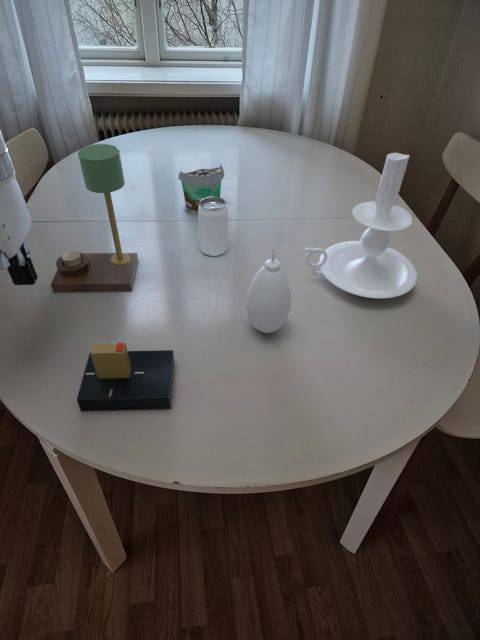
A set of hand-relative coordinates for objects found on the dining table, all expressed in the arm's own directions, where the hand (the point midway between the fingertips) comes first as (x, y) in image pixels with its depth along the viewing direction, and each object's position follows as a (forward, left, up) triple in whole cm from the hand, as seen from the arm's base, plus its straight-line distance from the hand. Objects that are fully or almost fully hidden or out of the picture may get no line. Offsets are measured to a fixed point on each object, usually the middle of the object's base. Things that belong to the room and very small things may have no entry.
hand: (26, 281), depth 67 cm
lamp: (+9, +21, -11) cm, 26 cm away
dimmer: (+15, -9, -15) cm, 23 cm away
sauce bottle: (+39, +4, -15) cm, 42 cm away
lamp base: (+4, +21, -15) cm, 26 cm away
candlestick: (+60, +19, -15) cm, 65 cm away
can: (+29, +31, -15) cm, 45 cm away
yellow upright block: (+13, -9, -12) cm, 20 cm away
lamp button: (-1, +21, -11) cm, 24 cm away
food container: (+27, +51, -15) cm, 60 cm away
